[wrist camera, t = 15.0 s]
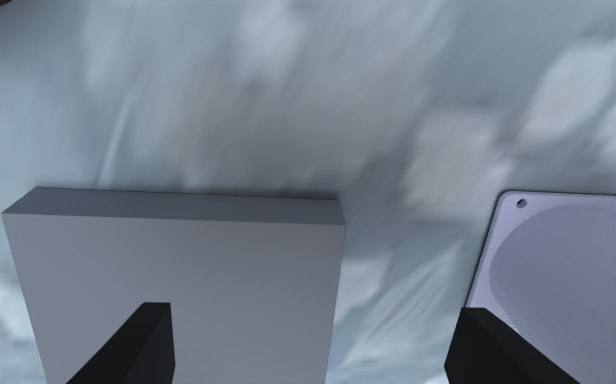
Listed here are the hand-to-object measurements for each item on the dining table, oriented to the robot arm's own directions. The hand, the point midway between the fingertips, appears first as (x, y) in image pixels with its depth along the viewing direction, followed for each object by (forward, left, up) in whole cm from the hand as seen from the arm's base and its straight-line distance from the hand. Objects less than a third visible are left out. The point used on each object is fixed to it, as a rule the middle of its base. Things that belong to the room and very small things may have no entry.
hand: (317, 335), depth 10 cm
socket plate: (+5, +12, -10) cm, 16 cm away
